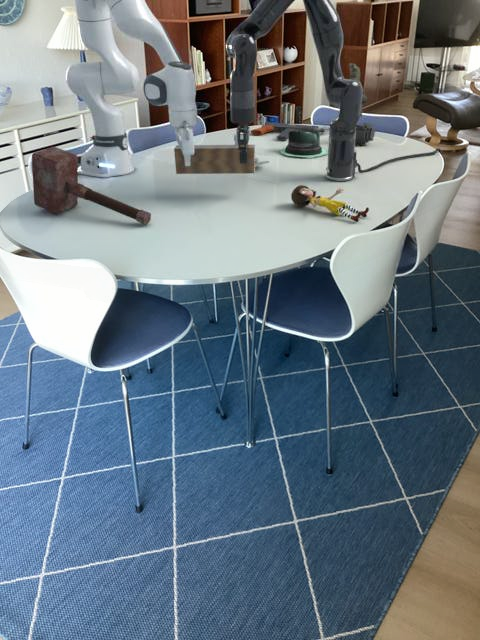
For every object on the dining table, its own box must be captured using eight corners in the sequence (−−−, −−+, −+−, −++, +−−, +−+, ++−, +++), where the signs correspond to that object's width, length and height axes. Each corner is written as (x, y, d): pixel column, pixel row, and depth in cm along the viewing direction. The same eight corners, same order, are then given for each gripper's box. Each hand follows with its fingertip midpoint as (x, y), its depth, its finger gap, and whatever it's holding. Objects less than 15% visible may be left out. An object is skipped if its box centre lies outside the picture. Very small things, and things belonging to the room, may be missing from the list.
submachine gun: (244, 131, 261) (267, 121, 279) (244, 137, 262) (267, 127, 281) (306, 137, 247) (327, 126, 266) (306, 143, 248) (326, 132, 267)
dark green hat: (332, 145, 241) (326, 158, 224) (294, 164, 249) (286, 177, 233) (317, 113, 235) (310, 124, 219) (279, 133, 244) (269, 145, 228)
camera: (240, 131, 219) (270, 136, 210) (241, 161, 225) (269, 168, 216) (225, 135, 213) (254, 141, 204) (226, 165, 219) (254, 172, 210)
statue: (367, 132, 266) (374, 63, 251) (349, 133, 264) (355, 64, 249) (357, 127, 275) (362, 61, 260) (339, 129, 273) (344, 62, 258)
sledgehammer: (159, 186, 162) (53, 145, 173) (139, 196, 154) (29, 152, 166) (154, 239, 172) (54, 196, 183) (135, 250, 164) (32, 205, 176)
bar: (176, 173, 181) (174, 148, 177) (178, 169, 185) (176, 145, 181) (254, 173, 179) (253, 148, 175) (254, 169, 183) (254, 144, 179)
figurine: (354, 211, 157) (283, 185, 169) (349, 235, 161) (280, 207, 174) (376, 199, 166) (307, 175, 178) (371, 222, 170) (303, 197, 182)
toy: (345, 120, 249) (377, 123, 242) (343, 139, 253) (375, 143, 246) (337, 123, 243) (369, 127, 236) (336, 143, 247) (367, 147, 240)
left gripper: (197, 124, 166) (200, 170, 173) (189, 112, 184) (192, 154, 191) (176, 125, 165) (180, 172, 172) (170, 113, 182) (173, 156, 190)
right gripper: (253, 109, 165) (254, 167, 173) (255, 101, 177) (256, 155, 186) (228, 110, 165) (230, 167, 174) (232, 101, 178) (234, 155, 186)
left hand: (186, 162), depth 182 cm, fingers closed on bar, 5 cm apart
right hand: (243, 160), depth 180 cm, fingers closed on bar, 4 cm apart
